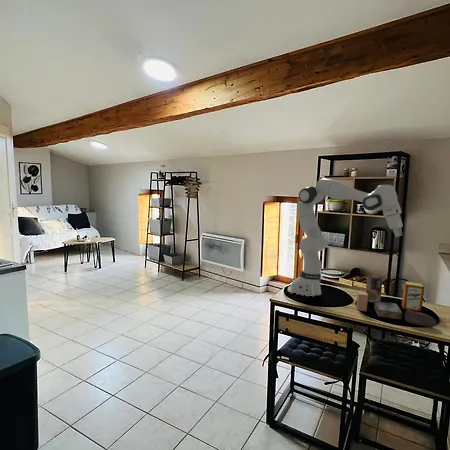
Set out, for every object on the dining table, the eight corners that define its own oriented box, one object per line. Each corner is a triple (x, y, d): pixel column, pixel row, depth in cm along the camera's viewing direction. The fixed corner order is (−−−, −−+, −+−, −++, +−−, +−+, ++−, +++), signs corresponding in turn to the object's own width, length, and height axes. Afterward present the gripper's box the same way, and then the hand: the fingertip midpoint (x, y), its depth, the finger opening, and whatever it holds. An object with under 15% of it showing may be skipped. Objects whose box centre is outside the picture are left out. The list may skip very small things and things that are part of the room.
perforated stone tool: (435, 326, 175) (437, 314, 174) (436, 330, 170) (437, 317, 169) (403, 319, 182) (405, 308, 181) (403, 323, 178) (405, 311, 177)
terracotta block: (357, 310, 193) (358, 294, 192) (356, 307, 198) (357, 291, 197) (366, 311, 192) (368, 295, 191) (365, 308, 197) (366, 292, 196)
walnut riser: (378, 316, 185) (378, 309, 185) (374, 307, 199) (374, 301, 198) (401, 319, 182) (402, 312, 182) (395, 310, 196) (396, 303, 195)
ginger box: (418, 308, 200) (421, 283, 198) (421, 311, 194) (424, 286, 192) (401, 305, 203) (404, 280, 201) (403, 309, 197) (406, 284, 195)
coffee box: (380, 300, 211) (383, 276, 208) (380, 303, 205) (382, 279, 203) (365, 297, 215) (367, 274, 213) (364, 300, 209) (366, 276, 207)
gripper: (389, 213, 191) (396, 236, 189) (382, 213, 174) (389, 238, 173) (401, 210, 187) (408, 233, 185) (395, 210, 171) (402, 236, 169)
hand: (399, 236), depth 179 cm, fingers open, 8 cm apart
